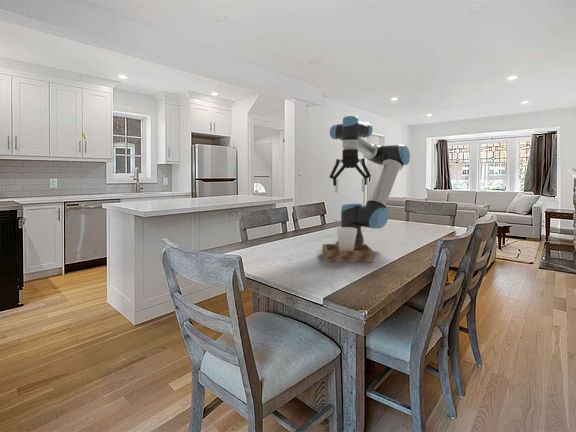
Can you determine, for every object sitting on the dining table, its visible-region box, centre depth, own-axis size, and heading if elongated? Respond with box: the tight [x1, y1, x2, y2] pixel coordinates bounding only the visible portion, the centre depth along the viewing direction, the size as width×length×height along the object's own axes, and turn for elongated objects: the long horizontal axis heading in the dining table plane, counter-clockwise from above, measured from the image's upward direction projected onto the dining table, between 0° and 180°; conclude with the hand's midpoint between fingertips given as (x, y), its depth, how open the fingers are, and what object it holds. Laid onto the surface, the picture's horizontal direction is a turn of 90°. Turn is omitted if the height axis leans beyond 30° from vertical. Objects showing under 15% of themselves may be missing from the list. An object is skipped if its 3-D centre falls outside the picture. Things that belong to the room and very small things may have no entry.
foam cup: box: [336, 226, 357, 251], centre depth 162 cm, size 10×9×13 cm
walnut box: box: [321, 243, 374, 263], centre depth 163 cm, size 22×15×5 cm
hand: (349, 192), depth 168 cm, fingers open, 13 cm apart
